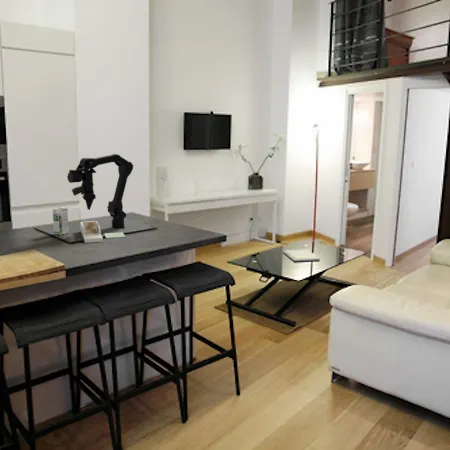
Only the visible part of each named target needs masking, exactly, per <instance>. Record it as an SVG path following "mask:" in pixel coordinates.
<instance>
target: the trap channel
mask: <svg viewBox="0 0 450 450" xmlns="http://www.w3.org/2000/svg"><path fill="white" fill-rule="evenodd" d="M85 222H95V223H96V233H86V224H85ZM80 233H81V236H82V239H83V238H84V239H83V241H84V244H85V243H87V244H89V243H102V242H104V238H103V236H102V234H101V233H102V231H101V226H100V224H99V222H98V221H97V220H91V221H90V220H89V221H80Z"/></svg>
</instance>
